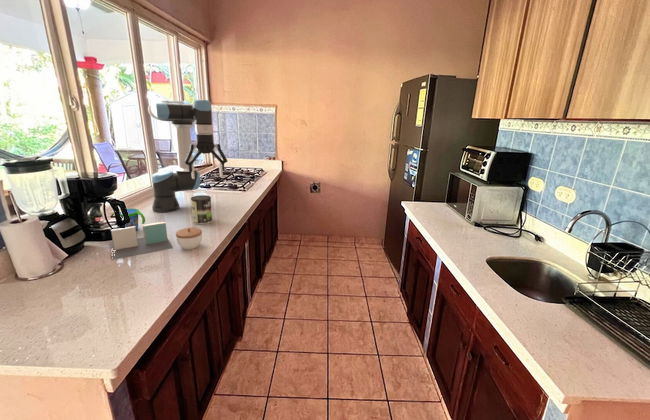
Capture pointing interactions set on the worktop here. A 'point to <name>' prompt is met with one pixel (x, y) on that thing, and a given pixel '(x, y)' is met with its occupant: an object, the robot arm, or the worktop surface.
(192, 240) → the lidded jar
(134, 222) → the snack cup
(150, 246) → the mat
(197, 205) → the coffee can
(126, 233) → the white square tile
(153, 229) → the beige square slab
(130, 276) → the worktop surface
